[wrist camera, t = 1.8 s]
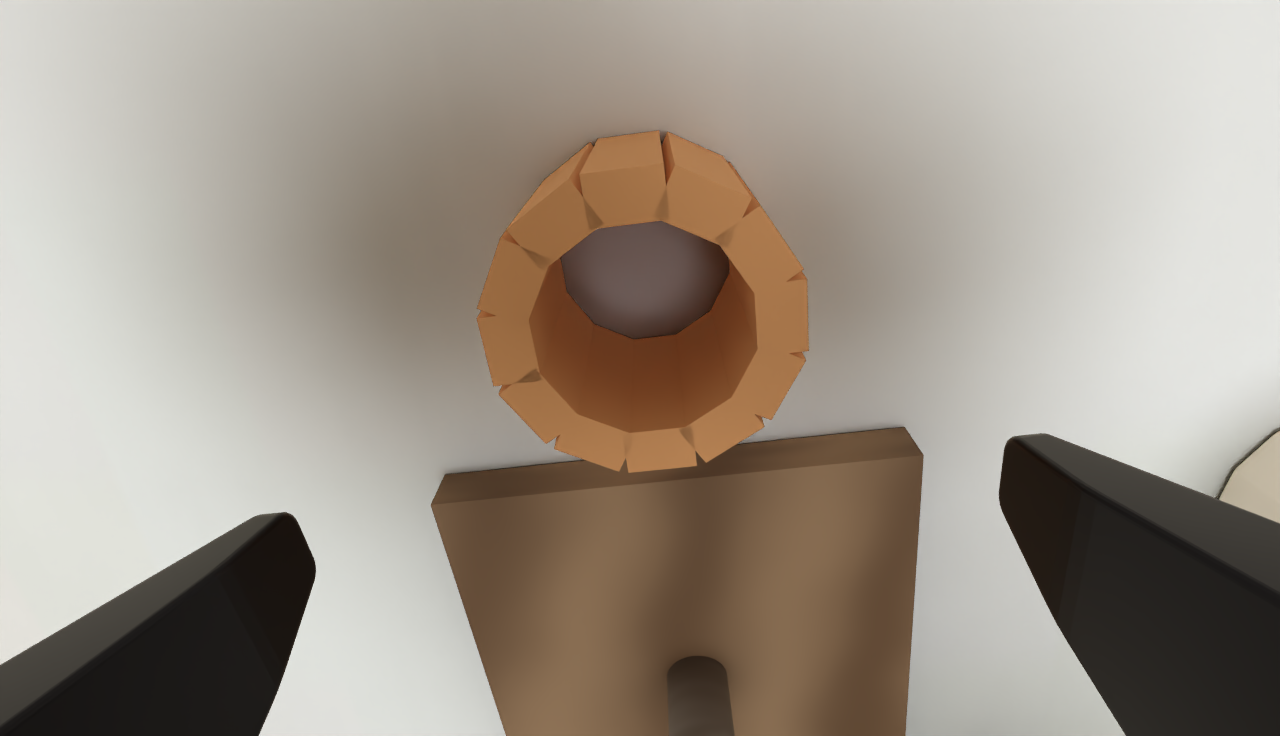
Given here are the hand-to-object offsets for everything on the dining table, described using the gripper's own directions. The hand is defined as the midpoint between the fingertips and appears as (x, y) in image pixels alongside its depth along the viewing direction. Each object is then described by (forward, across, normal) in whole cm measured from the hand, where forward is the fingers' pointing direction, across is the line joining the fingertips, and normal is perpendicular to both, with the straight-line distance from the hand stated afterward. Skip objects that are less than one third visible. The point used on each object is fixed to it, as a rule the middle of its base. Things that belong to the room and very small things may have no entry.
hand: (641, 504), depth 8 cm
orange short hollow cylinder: (+10, 0, 0) cm, 10 cm away
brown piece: (+10, 0, +14) cm, 17 cm away
